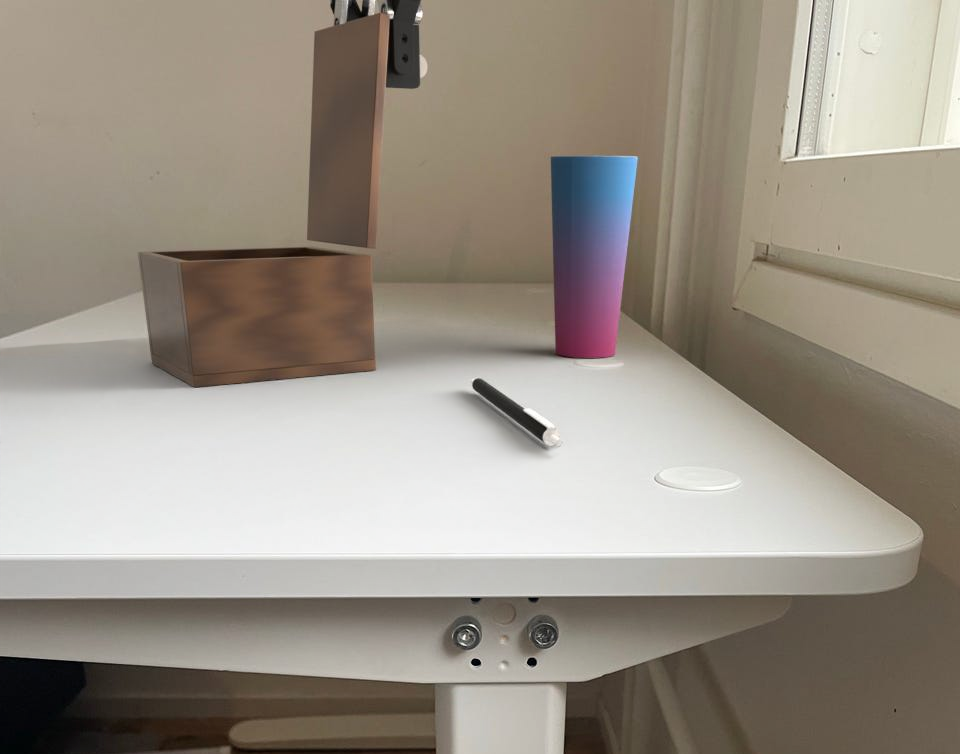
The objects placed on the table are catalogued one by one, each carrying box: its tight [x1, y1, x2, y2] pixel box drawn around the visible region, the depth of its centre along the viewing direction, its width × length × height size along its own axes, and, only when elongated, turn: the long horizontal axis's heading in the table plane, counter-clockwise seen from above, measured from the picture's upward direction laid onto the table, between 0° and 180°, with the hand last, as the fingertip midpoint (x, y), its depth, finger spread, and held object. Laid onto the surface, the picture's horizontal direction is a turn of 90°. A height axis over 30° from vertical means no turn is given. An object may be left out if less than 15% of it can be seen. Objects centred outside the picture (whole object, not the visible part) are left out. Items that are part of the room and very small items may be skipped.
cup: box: [550, 155, 639, 359], centre depth 83 cm, size 7×7×15 cm
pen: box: [470, 377, 563, 448], centre depth 63 cm, size 1×19×1 cm, turn 14°
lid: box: [306, 12, 428, 250], centre depth 78 cm, size 15×12×5 cm
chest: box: [137, 246, 377, 388], centre depth 78 cm, size 14×12×8 cm
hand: (378, 88), depth 76 cm, fingers closed on lid, 6 cm apart
